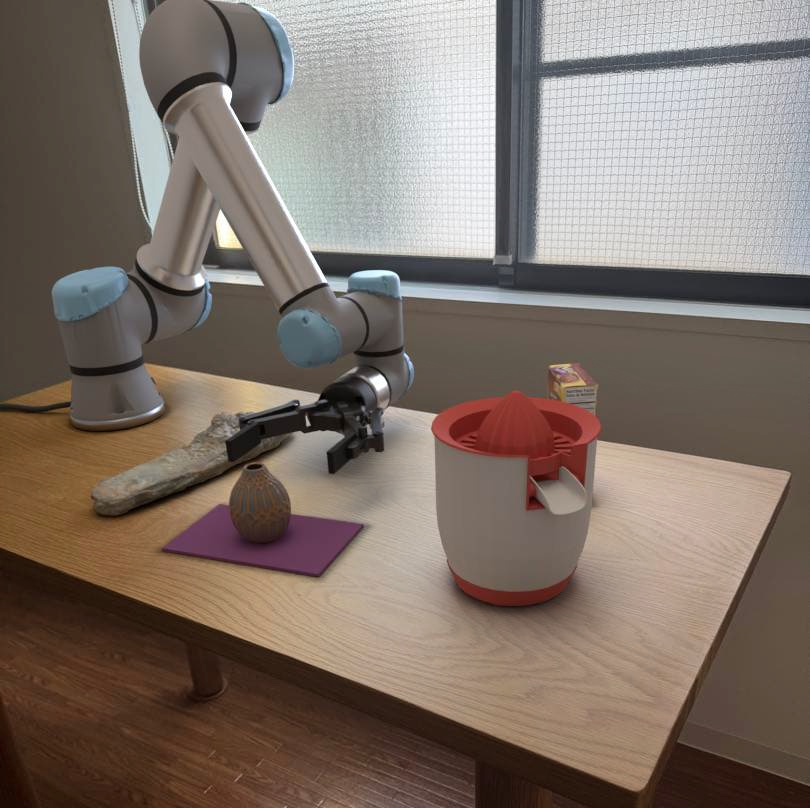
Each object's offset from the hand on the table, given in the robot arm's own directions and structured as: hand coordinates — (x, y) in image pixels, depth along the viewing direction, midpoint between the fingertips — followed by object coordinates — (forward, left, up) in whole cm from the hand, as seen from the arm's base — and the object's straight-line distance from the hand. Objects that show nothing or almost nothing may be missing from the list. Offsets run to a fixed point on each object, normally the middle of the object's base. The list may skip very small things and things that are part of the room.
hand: (278, 457), depth 90 cm
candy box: (+31, +16, -8) cm, 36 cm away
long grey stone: (-19, +10, -8) cm, 23 cm away
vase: (0, -6, -8) cm, 10 cm away
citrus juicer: (+30, -7, -8) cm, 32 cm away
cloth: (0, -6, -8) cm, 10 cm away
